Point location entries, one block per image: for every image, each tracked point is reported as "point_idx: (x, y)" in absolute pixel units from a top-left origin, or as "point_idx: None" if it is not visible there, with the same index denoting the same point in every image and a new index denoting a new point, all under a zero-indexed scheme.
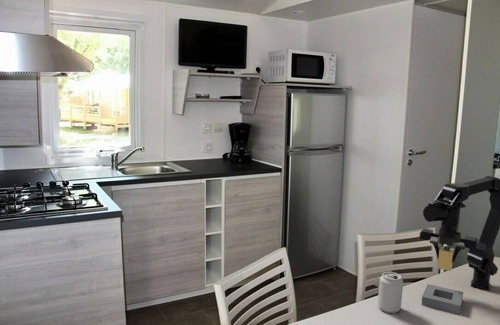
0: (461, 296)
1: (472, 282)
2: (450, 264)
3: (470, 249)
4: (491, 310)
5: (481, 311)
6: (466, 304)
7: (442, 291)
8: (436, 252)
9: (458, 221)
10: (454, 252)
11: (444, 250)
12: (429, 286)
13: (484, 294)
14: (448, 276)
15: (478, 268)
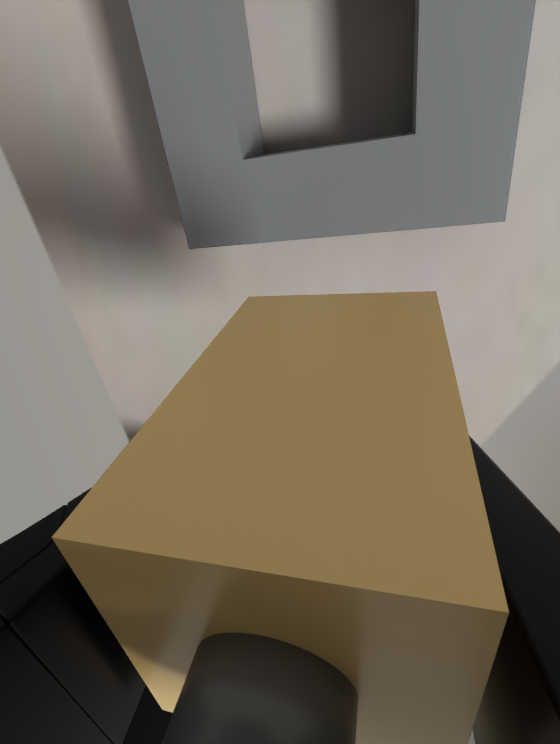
0: (167, 129)
1: None
2: (224, 342)
3: (163, 722)
4: (38, 187)
5: (63, 116)
6: None
7: (340, 145)
8: (556, 545)
9: None
10: (55, 565)
11: (310, 606)
12: (480, 161)
13: (153, 391)
14: None
15: None
